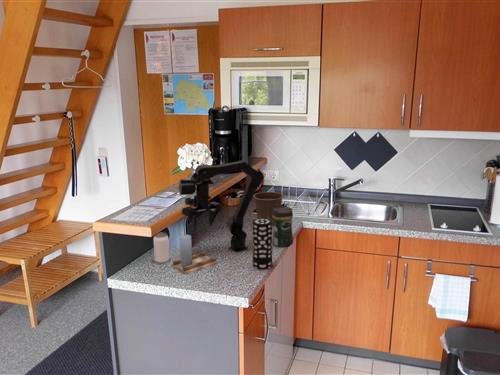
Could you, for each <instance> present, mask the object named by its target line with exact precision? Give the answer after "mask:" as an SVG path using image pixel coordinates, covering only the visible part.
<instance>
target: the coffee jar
mask: <svg viewBox="0 0 500 375" xmlns="http://www.w3.org/2000/svg"><path fill="white" fill-rule="evenodd" d="M293 214H294V213H293V209H292V207H290V206H284V207H282V206H281V208H274V209H273V215H272V216H273V219H274V226H273V230H272V245H274V247H277V248H279V247H280V248H282V247H283V248H284V247H288V246H292V245H293V243H294V237H293V229H292V228H293V225H292V222H293V217H294V215H293Z"/></svg>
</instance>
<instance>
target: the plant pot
mask: <svg viewBox="0 0 500 375" xmlns="http://www.w3.org/2000/svg"><path fill="white" fill-rule="evenodd" d="M283 197H284V195H283V194H282V193H280V192H275V191H263V192H257V193H254V194H253V198H254V203H255V208H256V219H259V218H266V219H270V220H272V227H274V219H273V216H272V215H273V209H274V208H282V206H281V205H282V201H283Z"/></svg>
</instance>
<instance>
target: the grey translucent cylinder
mask: <svg viewBox="0 0 500 375" xmlns="http://www.w3.org/2000/svg"><path fill="white" fill-rule="evenodd" d="M179 252H180V259H181V267H185V266H188V265H192V255H193V247H192V235H191V234H182V235H180V236H179Z"/></svg>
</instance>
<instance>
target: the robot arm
mask: <svg viewBox="0 0 500 375" xmlns="http://www.w3.org/2000/svg"><path fill="white" fill-rule="evenodd" d="M239 171H242V172H243V173H244V174H245V175H246V177H245V187H244V190H243V191H242V194H241V197H240V199H239V202H238V205H237V206H236V209H235V212H234V214H233V215H232V216H231V215H229V216H227V217H228V218H227V220H226V222H225V224H226V225H225V228H226V230H227V232H228V233H230V234H231V237H230V246H229V247H228V248H229V249H230V250H233V251H234V252H236V253H237V252H242V251H244V250H247V249H248V246H246V244H247V243H246V239H247V236H248V233H246V232H245V230H243V229H244V219H245V215H246V213H247V210H248V208H249V206H250V203H251V202H252V201H251V200H252V199H253V197H254V194H255V191H256V190H257V188H259V187H260V186H261V184H262V182H263V180H264V173H263V172H262V171H260V170H258V169H256V168H253V167H252V166H250V165H249V164H248V163H247V162H246V161H243V160H238V161H233V162H227V163H220V164H217V165H212V164H210V165H209V164H200V165H197V166H196V168H195V169H194V173H193V174H192V175H191V176H190V178H189V179H184V178H183V179H182V178H181V179H179V184H178V194H179V195H180V196H187V195H188V196H189V195H193V194H195V195H194V196H193V198H191V197H186V198H184V204H185V205H186V206H187V207H186V206H185V207H183V208H182V210H181V214H182V215H183V216H186V217H187V218H188V219H189V222H190V224H191V227H192V229H193V230H196V226H197V220H198V215H197V214H198V213H199V212H204V211H207V212H208V225H209V226H212V224H213V222H214V221H215V219H216V217H217V216H218V214H219V213H220V211H222V210H223V205H222V204H221V203H220V202H216V201H212V202H210V199H212V196H211V195H210V185H214V182H213V181H212V178H214V177H216V176H218V175H223V174H229V173H234V172H239ZM189 205H190V207H189Z"/></svg>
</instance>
